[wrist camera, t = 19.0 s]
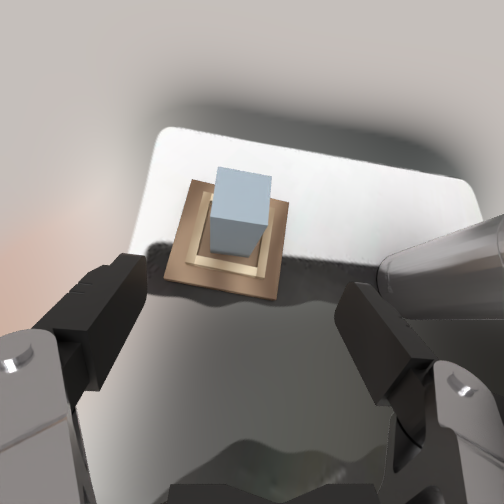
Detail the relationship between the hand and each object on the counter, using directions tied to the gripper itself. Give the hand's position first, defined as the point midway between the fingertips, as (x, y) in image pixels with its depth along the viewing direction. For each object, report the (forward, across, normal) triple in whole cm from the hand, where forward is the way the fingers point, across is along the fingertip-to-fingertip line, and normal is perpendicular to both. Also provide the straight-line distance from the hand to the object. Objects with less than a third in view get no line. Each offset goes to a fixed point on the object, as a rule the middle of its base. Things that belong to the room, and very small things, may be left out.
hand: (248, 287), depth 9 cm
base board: (+20, 0, +7) cm, 21 cm away
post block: (+18, 0, +6) cm, 20 cm away
